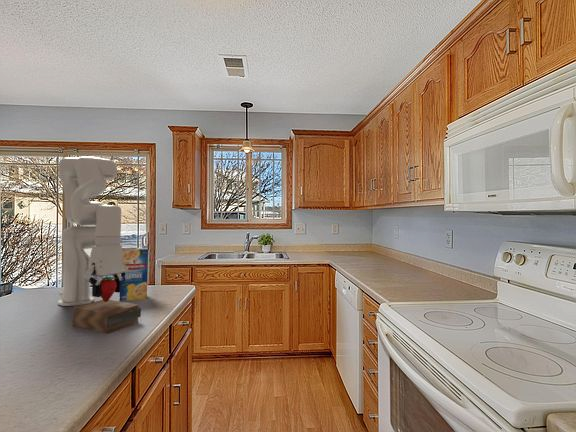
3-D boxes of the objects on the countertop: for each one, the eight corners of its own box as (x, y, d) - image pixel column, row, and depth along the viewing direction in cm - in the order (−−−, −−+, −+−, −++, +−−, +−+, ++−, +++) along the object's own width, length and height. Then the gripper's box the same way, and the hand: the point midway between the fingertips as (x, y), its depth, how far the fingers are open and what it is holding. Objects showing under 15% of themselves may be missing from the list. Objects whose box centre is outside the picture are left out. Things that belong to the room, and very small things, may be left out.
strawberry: (116, 298, 115) (117, 270, 115) (116, 303, 108) (117, 273, 108) (97, 300, 112) (97, 271, 112) (95, 305, 105) (96, 274, 105)
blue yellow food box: (147, 298, 144) (148, 248, 144) (119, 301, 139) (120, 249, 139) (146, 295, 150) (147, 247, 150) (119, 297, 145) (120, 248, 145)
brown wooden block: (72, 325, 107) (73, 307, 107) (105, 315, 118) (105, 299, 118) (109, 333, 101) (109, 314, 101) (140, 322, 112) (141, 305, 112)
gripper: (121, 239, 119) (120, 288, 119) (75, 242, 103) (73, 298, 103) (137, 240, 117) (135, 290, 117) (91, 243, 101) (89, 301, 101)
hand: (106, 293), depth 110 cm, fingers closed on strawberry, 6 cm apart
